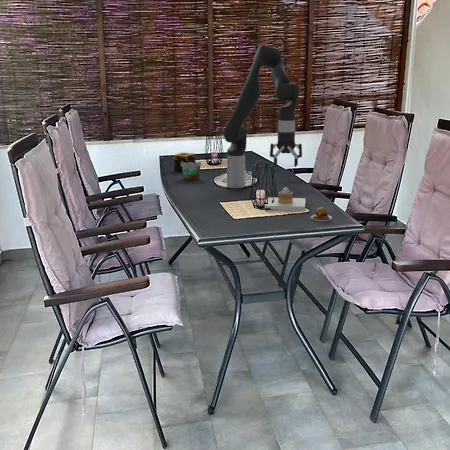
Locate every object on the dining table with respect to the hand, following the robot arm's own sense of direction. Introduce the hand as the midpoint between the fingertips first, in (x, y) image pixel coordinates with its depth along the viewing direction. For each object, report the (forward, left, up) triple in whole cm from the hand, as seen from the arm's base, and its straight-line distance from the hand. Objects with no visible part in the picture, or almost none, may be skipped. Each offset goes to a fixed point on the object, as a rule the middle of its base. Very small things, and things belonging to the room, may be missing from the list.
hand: (285, 166), depth 228 cm
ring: (0, 0, -17) cm, 17 cm away
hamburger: (+16, -17, -20) cm, 31 cm away
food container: (-57, +49, -19) cm, 77 cm away
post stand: (0, 0, -19) cm, 19 cm away
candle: (-66, +75, -19) cm, 102 cm away
